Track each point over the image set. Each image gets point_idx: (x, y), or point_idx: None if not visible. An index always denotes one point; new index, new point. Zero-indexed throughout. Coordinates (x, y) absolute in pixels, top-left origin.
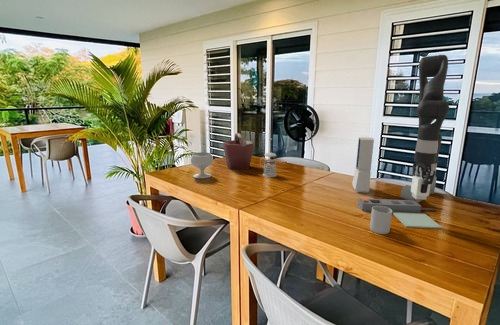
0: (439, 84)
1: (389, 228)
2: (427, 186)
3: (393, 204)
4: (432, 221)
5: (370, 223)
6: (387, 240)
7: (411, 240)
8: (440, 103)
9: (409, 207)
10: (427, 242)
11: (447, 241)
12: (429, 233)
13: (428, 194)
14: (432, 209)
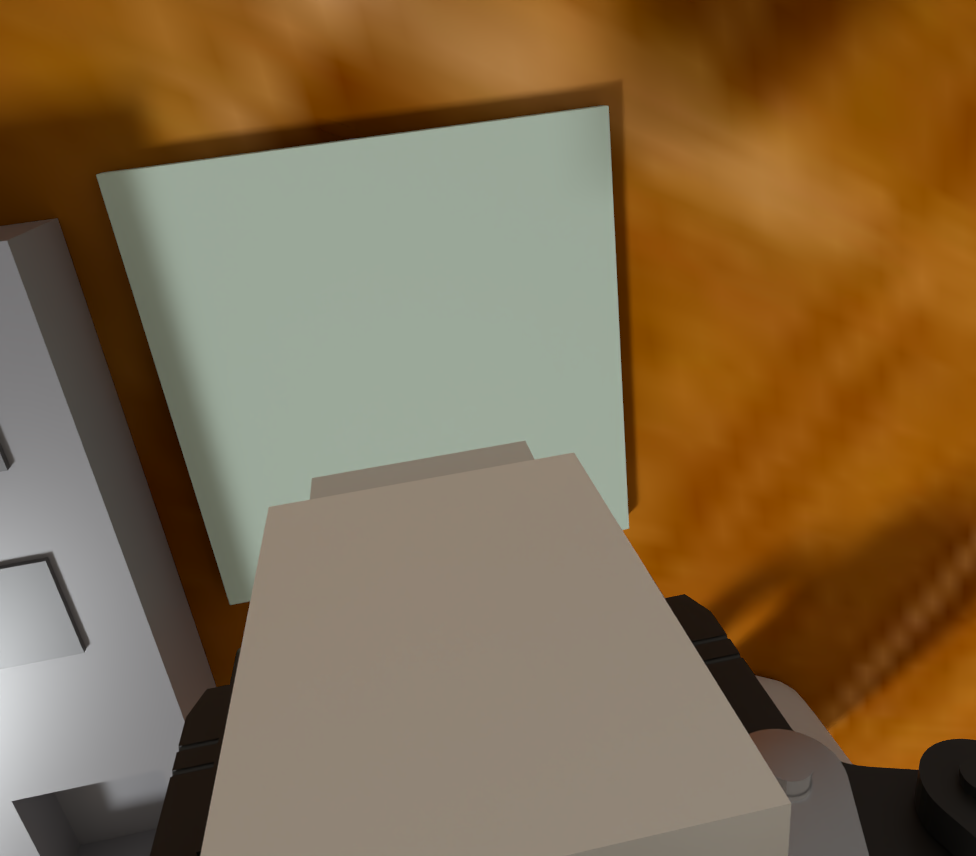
0: None
1: (806, 711)
2: (780, 712)
3: (138, 651)
4: (427, 169)
5: None
6: (902, 695)
7: (904, 527)
8: None
9: (90, 423)
10: (942, 402)
11: (928, 189)
12: (753, 318)
13: (587, 481)
14: None
